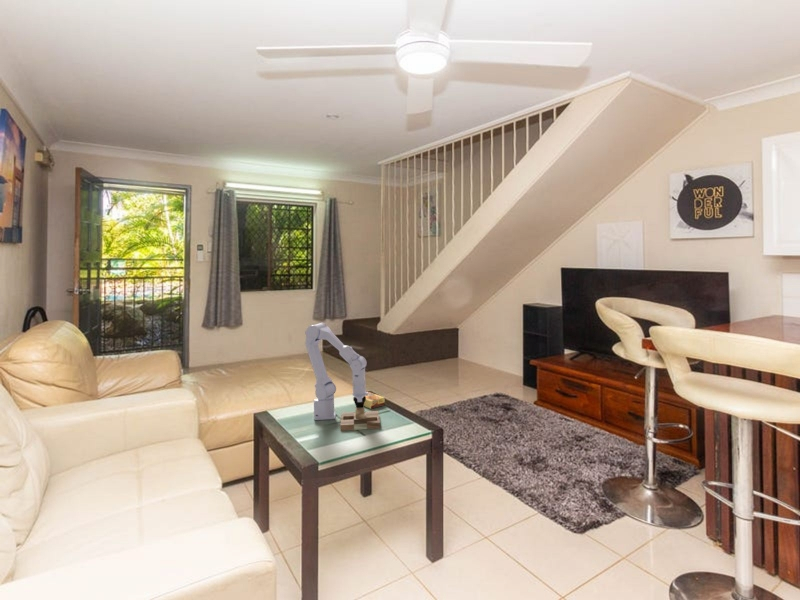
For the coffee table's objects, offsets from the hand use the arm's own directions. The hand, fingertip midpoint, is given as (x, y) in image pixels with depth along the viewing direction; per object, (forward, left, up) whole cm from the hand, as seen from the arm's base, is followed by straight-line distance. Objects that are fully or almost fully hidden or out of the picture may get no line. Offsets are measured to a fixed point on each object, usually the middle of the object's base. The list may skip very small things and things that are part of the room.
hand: (359, 412), depth 194 cm
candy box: (+9, +17, -1) cm, 19 cm away
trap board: (0, -3, -3) cm, 5 cm away
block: (0, -3, -1) cm, 4 cm away
